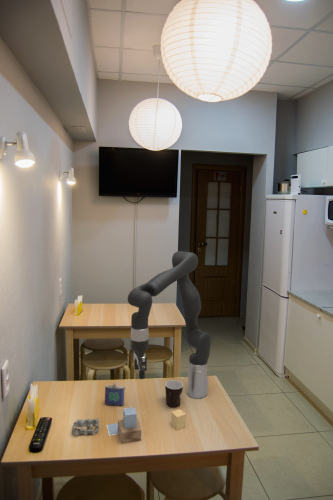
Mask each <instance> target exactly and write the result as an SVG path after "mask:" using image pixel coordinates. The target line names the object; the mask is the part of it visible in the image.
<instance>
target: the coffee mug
mask: <svg viewBox="0 0 333 500" xmlns="http://www.w3.org/2000/svg"><path fill="white" fill-rule="evenodd" d="M183 389H184V384H183V382H182V381H179V380H173V379H172V380H166V382H165V383H164V390H165V402H166V406H167V407H168V408H171V409H175V408H176V409H177V408H179V407H180V406H181V400H182V393H183Z"/></svg>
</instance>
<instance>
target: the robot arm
mask: <svg viewBox="0 0 333 500" xmlns="http://www.w3.org/2000/svg"><path fill="white" fill-rule="evenodd" d="M198 264H199V258H198V255H196V254H195V253H194V252H190V251H181V250H179V251H175V252H174V253H173V254H172V257H171V266H172V268H171V267H170V268H169V269H167V270H165V271H162V272H160V273H158V274H156V275H155V276H154V277H152V278H151V279H149V280H148V281H147V282H146V283H143V284H141V285H138V286H136V287H134V288H133V289H132V290H130V292H129V293H128V295H127V302H128V303H127V304H129V305H130V306H132V307H136V308H138V309H137V310H138V311H136V312H132V314H131V317H130V318H131V321H130V322H131V328H130V349H131V350H132V359H133V362H134V364H133V365H134V366H133V368H134V370H135V371H137V370H138V375H139V376H138V378H139V380H143V379H145V377H146V372H147V370H148V369H147V367H148V366H147V365H148V364H147V363H148V362H147V361H148V360H147V358H148V357H147V355H146V353H145V351H146V350H148V349H149V342H150V341H149V340H150V339H149V338H150V337H149V333H150V332H149V317H150V312H151V309H152V306H153V298H152V297H157V296H158V295H160V294H161V293H162V292H163V291H165V290H166V289H167V288H168V287H169V286H171V285H172V284H173V283H175V282H176V281H177V286H178V287H177V288H178V290H179V296H180V302H181V307H182V311H183V315H184V317H183V318H184V323H185V334H186V341H187V344H188V345H189V346H190V347H192V348H194V349H195V350H196V351H195V352H194V353H191V354H190V355H189V357H188V359H189V360H188V373H187V374H188V375H187V376H188V377H187V378H188V379H187V380H188V381H187V395H188V397H190V398H193V399H203V398H205V397H207V396H208V389H209V388H208V385H209V377H208V376H207V374H208V360H209V358H210V354H211V353H210V352H211V343H212V341H211V340H212V339H211V335H210V334H209V333H208V332H206V331H203V330H201V329H200V326H199V323H198V317H199V315H200V313H201V310H202V303H201V302H202V301H201V296H200V293H199V291H198V289H197V287H196V286H195V285H194V283H193V282H192V281H191V279H190V277H189V274H190V273H193V271H195V270H196V269H197V267H198V266H199V265H198Z"/></svg>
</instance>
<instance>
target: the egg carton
mask: <svg viewBox="0 0 333 500" xmlns="http://www.w3.org/2000/svg"><path fill="white" fill-rule="evenodd" d="M99 420H100V419H99V418H95V419H94V418H93V419H90V418H88V419H81V418H79V419H76V420H74V421H73V423H72V424H73V426H72V435H73V436H75V437H77V438H78V437H79V436H80V435H83V436H88V435H89V434H91V435H93V436H95V435H96V434H98V433H99V429H100V428H99V426H100V421H99ZM85 426H86V429H85ZM94 427H95V430H94Z"/></svg>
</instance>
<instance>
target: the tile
mask: <svg viewBox="0 0 333 500" xmlns="http://www.w3.org/2000/svg"><path fill="white" fill-rule="evenodd" d="M106 428H107V433H108V436H115V435H119V434H118V422H116V423H109V424H106Z"/></svg>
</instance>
